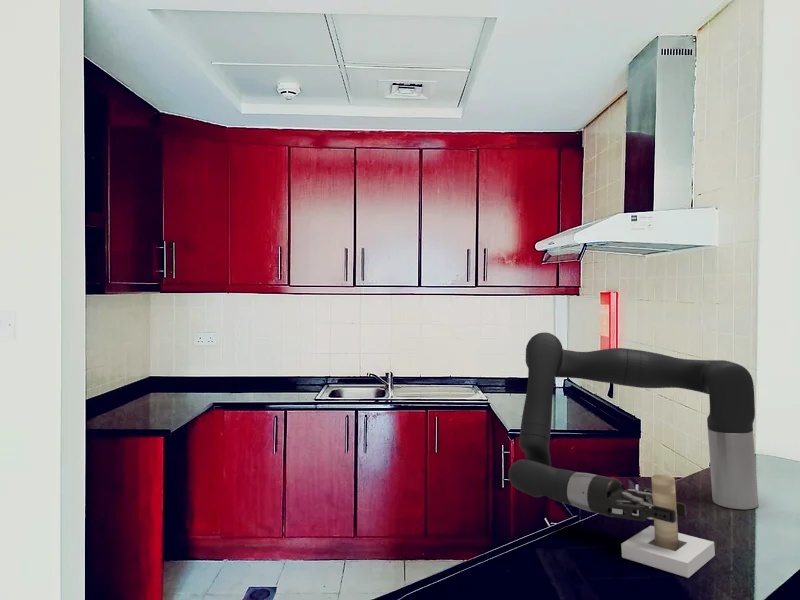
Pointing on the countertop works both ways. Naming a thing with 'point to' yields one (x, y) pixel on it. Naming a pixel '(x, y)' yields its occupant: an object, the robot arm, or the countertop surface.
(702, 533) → the countertop surface
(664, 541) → the peg
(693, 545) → the socket plate
